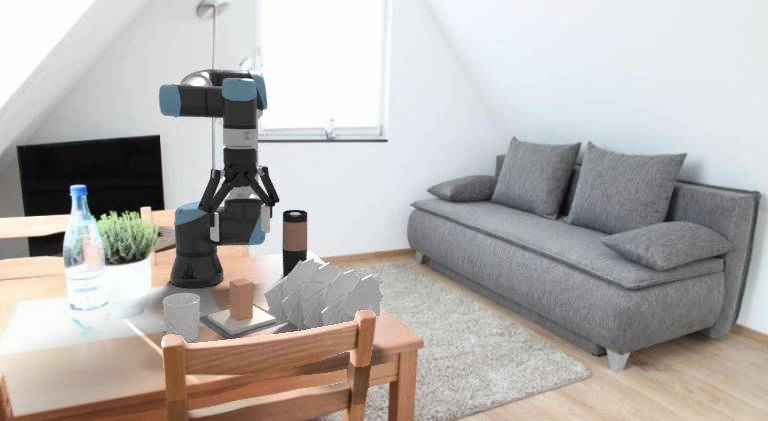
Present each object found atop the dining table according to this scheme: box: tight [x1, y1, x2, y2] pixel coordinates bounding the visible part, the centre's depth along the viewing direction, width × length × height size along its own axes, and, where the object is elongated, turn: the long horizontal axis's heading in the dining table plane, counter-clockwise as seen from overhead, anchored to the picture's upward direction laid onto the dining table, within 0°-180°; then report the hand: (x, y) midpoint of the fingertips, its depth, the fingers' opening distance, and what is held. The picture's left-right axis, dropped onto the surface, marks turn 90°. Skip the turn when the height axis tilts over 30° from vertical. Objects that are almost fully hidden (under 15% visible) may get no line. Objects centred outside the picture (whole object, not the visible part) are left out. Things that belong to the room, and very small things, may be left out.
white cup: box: [162, 292, 201, 343], centre depth 127 cm, size 8×8×10 cm
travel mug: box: [281, 209, 308, 277], centre depth 174 cm, size 8×8×20 cm
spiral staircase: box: [264, 257, 384, 332], centre depth 132 cm, size 18×18×25 cm
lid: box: [207, 277, 276, 335], centre depth 137 cm, size 12×12×10 cm
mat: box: [199, 303, 285, 340], centre depth 138 cm, size 16×16×1 cm
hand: (241, 236), depth 133 cm, fingers open, 13 cm apart
